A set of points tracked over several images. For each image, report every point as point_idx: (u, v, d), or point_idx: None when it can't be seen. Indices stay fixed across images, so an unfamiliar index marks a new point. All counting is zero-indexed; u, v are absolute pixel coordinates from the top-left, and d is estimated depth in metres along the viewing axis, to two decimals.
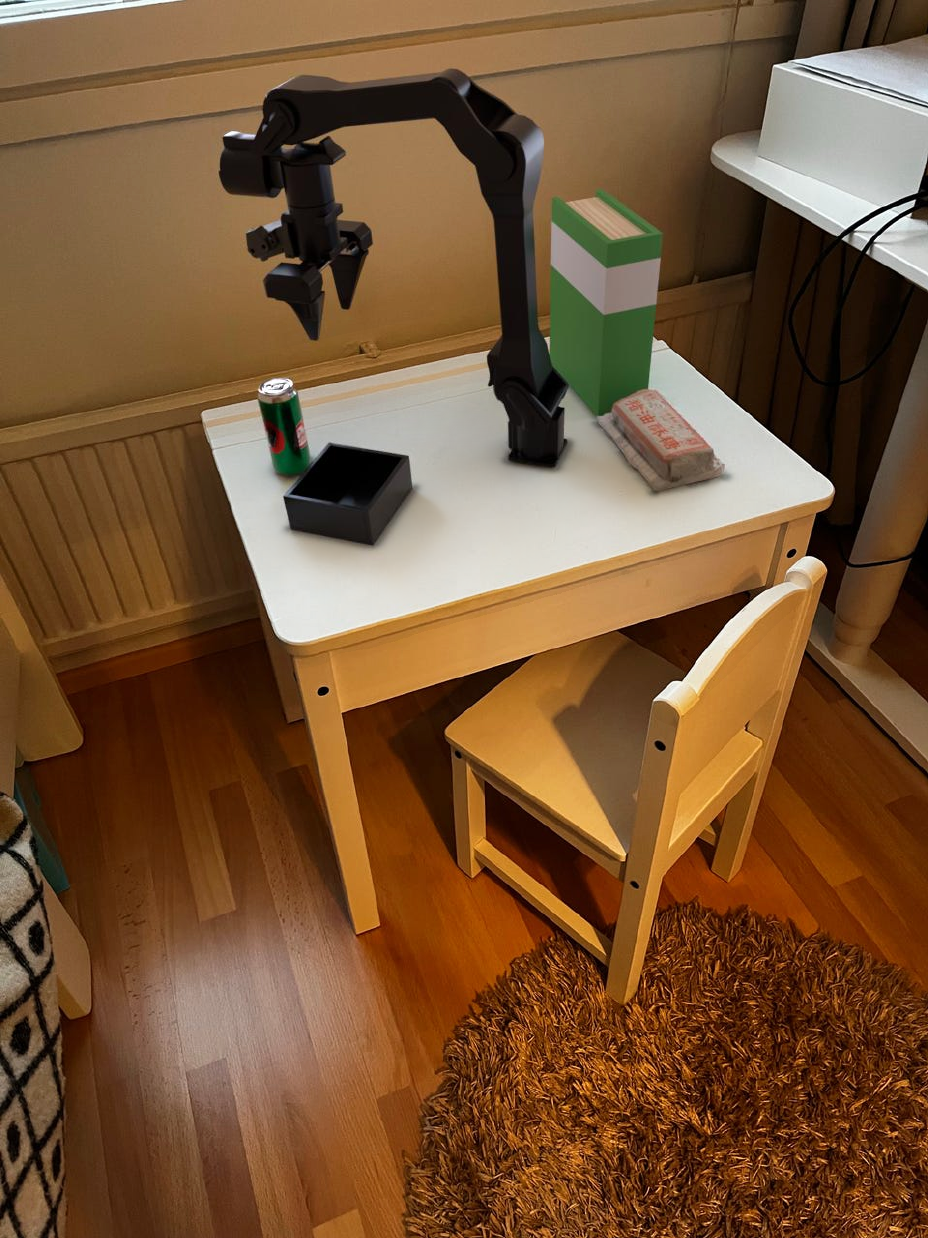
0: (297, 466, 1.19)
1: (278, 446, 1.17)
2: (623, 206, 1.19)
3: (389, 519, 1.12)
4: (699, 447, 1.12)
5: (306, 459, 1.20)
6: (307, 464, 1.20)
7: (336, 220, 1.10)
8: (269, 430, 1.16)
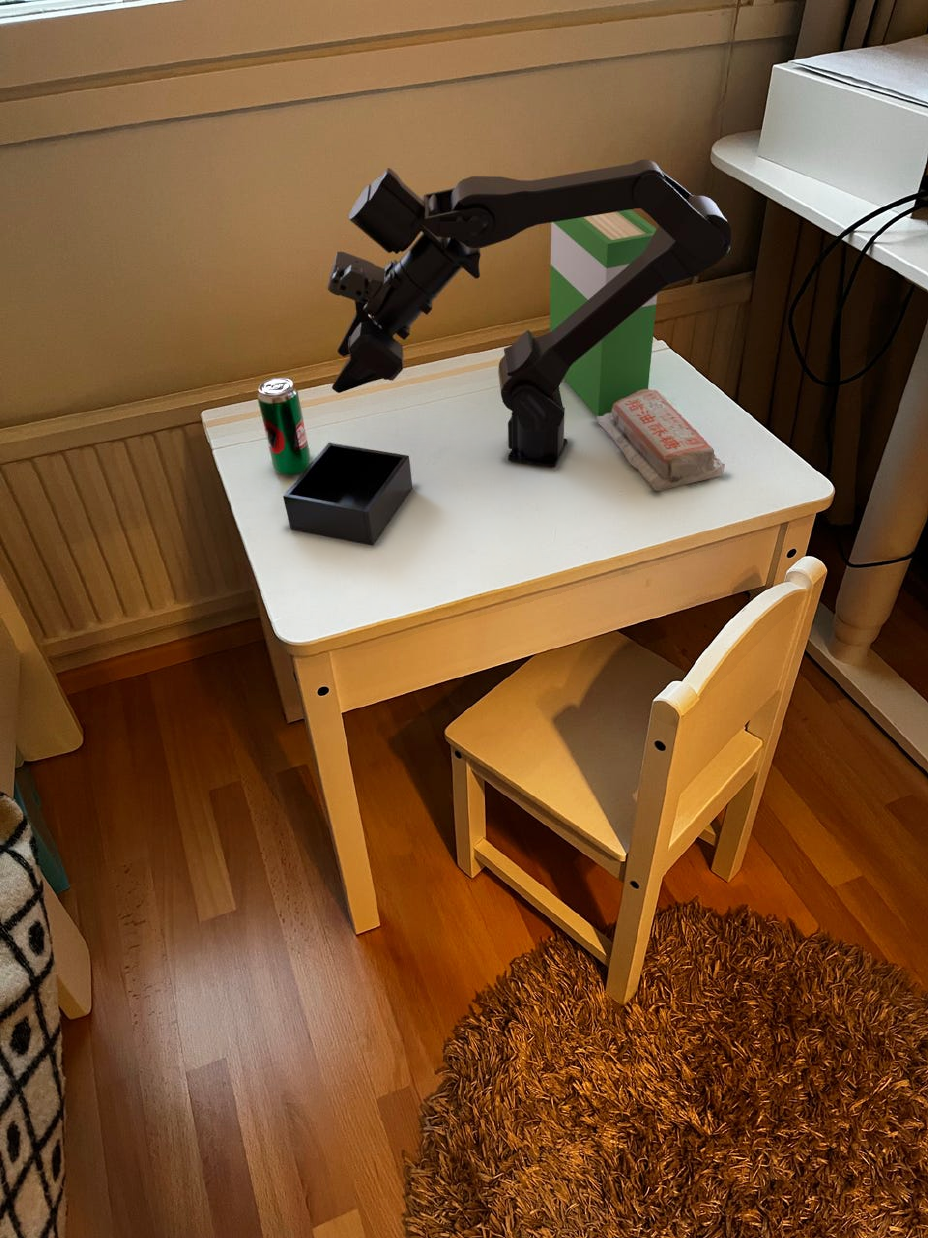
0: (297, 466, 1.19)
1: (278, 446, 1.17)
2: None
3: (389, 519, 1.12)
4: (700, 447, 1.12)
5: (306, 459, 1.20)
6: (307, 464, 1.20)
7: None
8: (269, 430, 1.16)
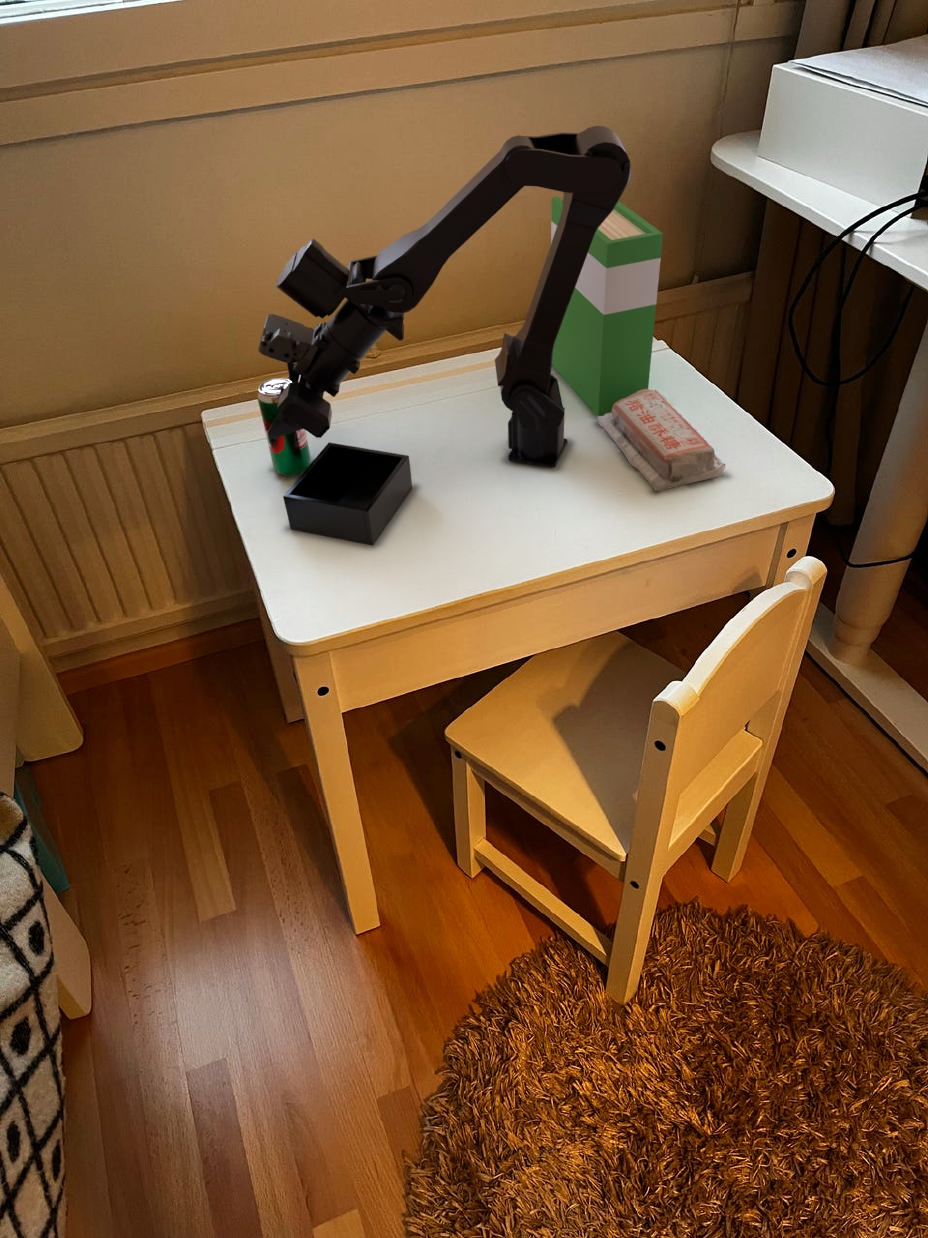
0: (297, 466, 1.19)
1: (278, 446, 1.17)
2: (623, 206, 1.19)
3: (389, 519, 1.12)
4: (700, 447, 1.12)
5: (306, 459, 1.20)
6: (307, 464, 1.20)
7: None
8: None
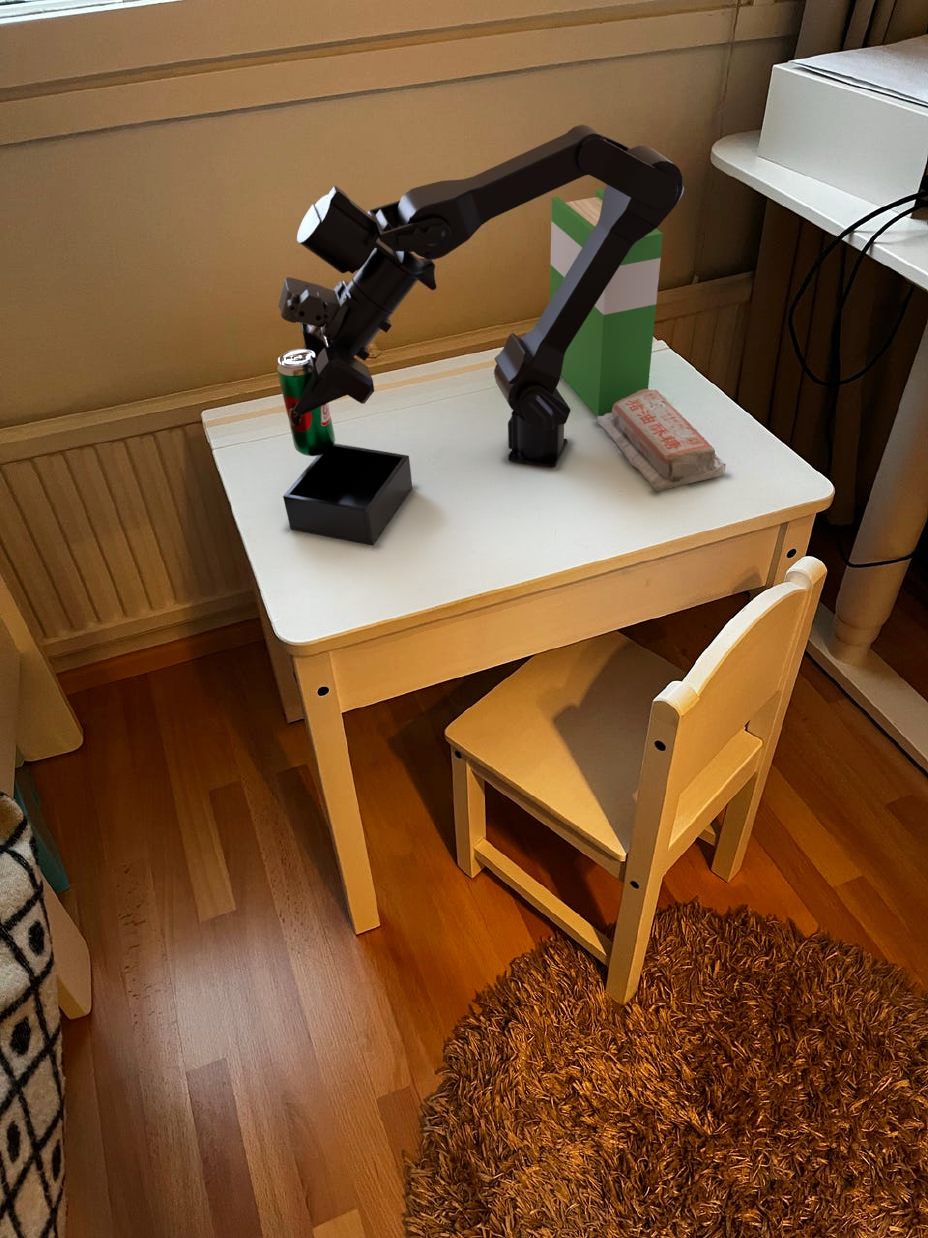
0: (324, 444, 1.10)
1: (305, 423, 1.07)
2: None
3: (389, 519, 1.12)
4: (700, 447, 1.12)
5: (332, 436, 1.11)
6: (333, 441, 1.11)
7: None
8: None
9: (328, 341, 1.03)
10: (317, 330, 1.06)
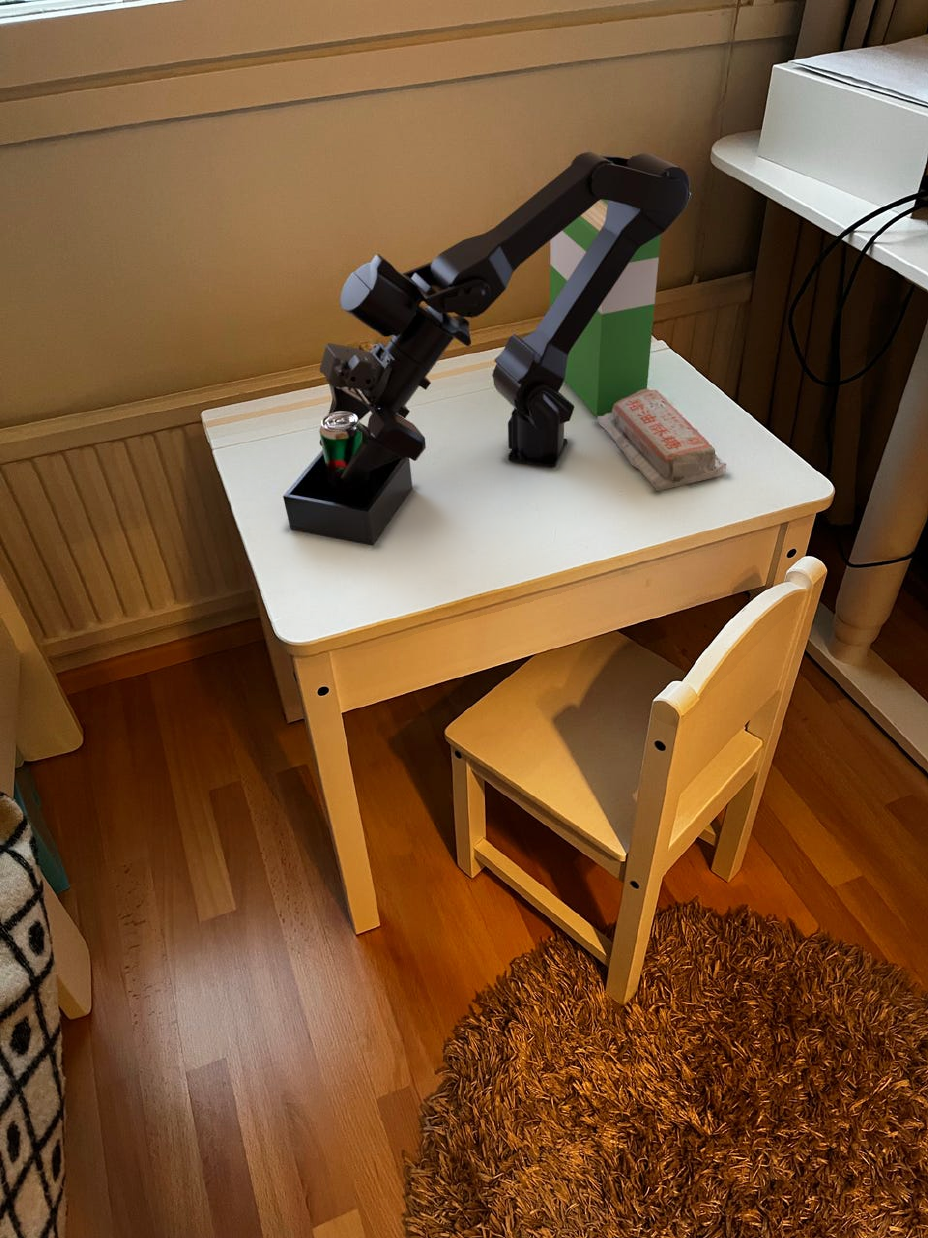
0: (366, 501, 1.12)
1: (349, 483, 1.09)
2: None
3: (389, 519, 1.12)
4: (701, 447, 1.12)
5: (371, 492, 1.13)
6: (372, 497, 1.13)
7: None
8: (339, 469, 1.08)
9: (365, 396, 1.06)
10: None
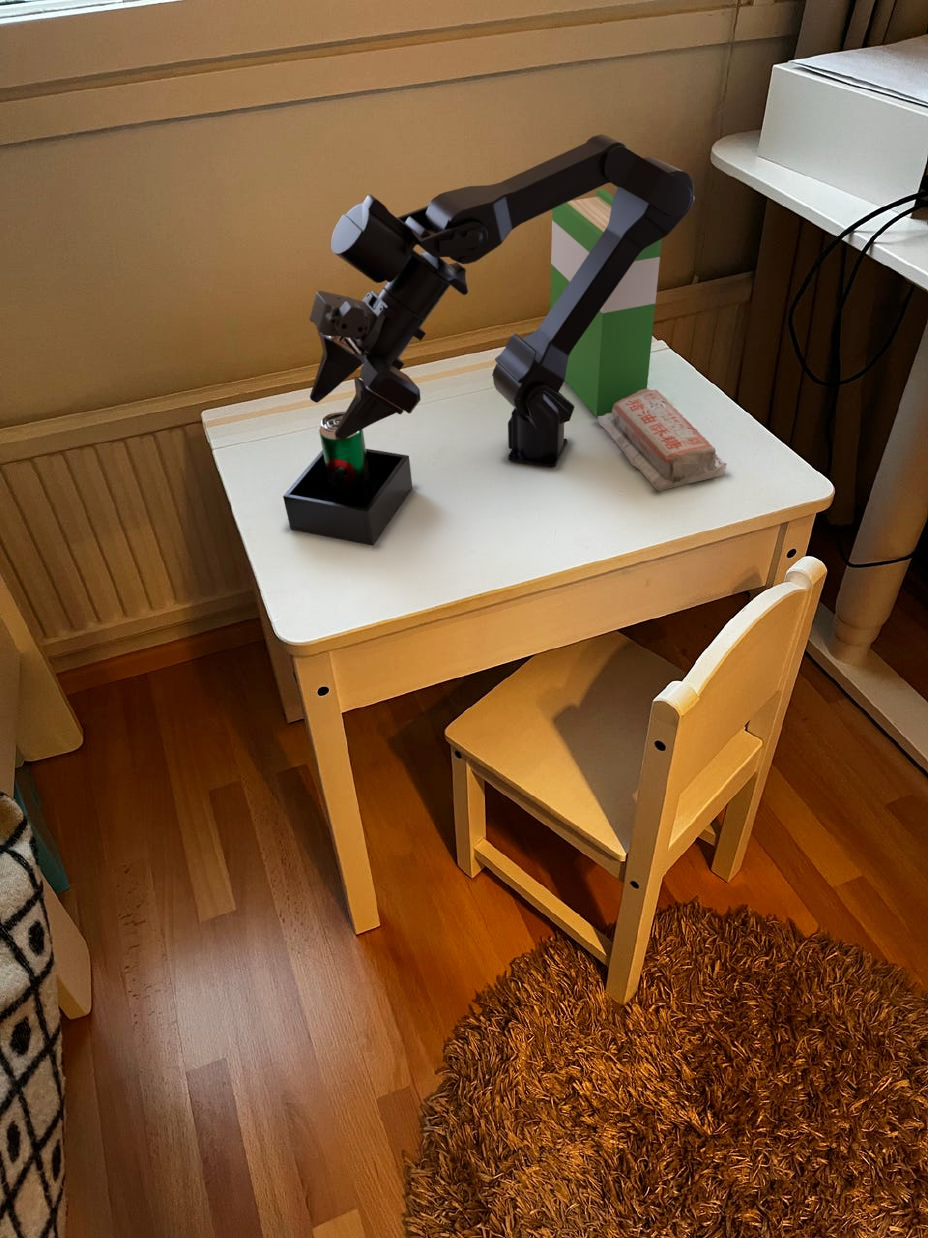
0: (366, 501, 1.12)
1: (349, 483, 1.09)
2: None
3: (389, 519, 1.12)
4: (701, 447, 1.12)
5: (371, 492, 1.13)
6: (372, 497, 1.13)
7: None
8: (339, 469, 1.08)
9: (356, 346, 1.02)
10: (337, 336, 1.05)
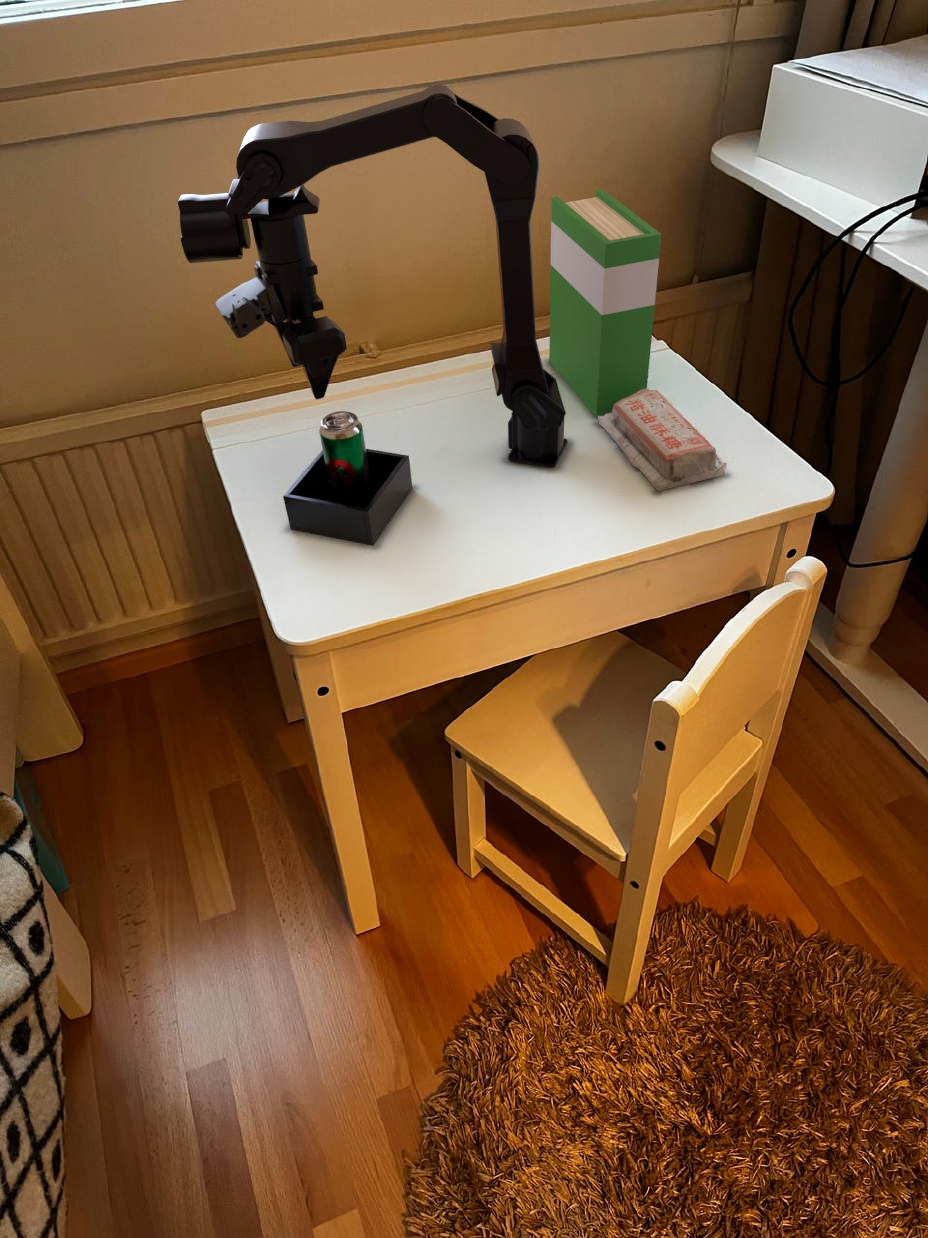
0: (366, 501, 1.12)
1: (349, 483, 1.09)
2: (622, 206, 1.19)
3: (389, 519, 1.12)
4: (702, 446, 1.12)
5: (371, 492, 1.13)
6: (372, 497, 1.13)
7: None
8: (339, 469, 1.08)
9: None
10: None
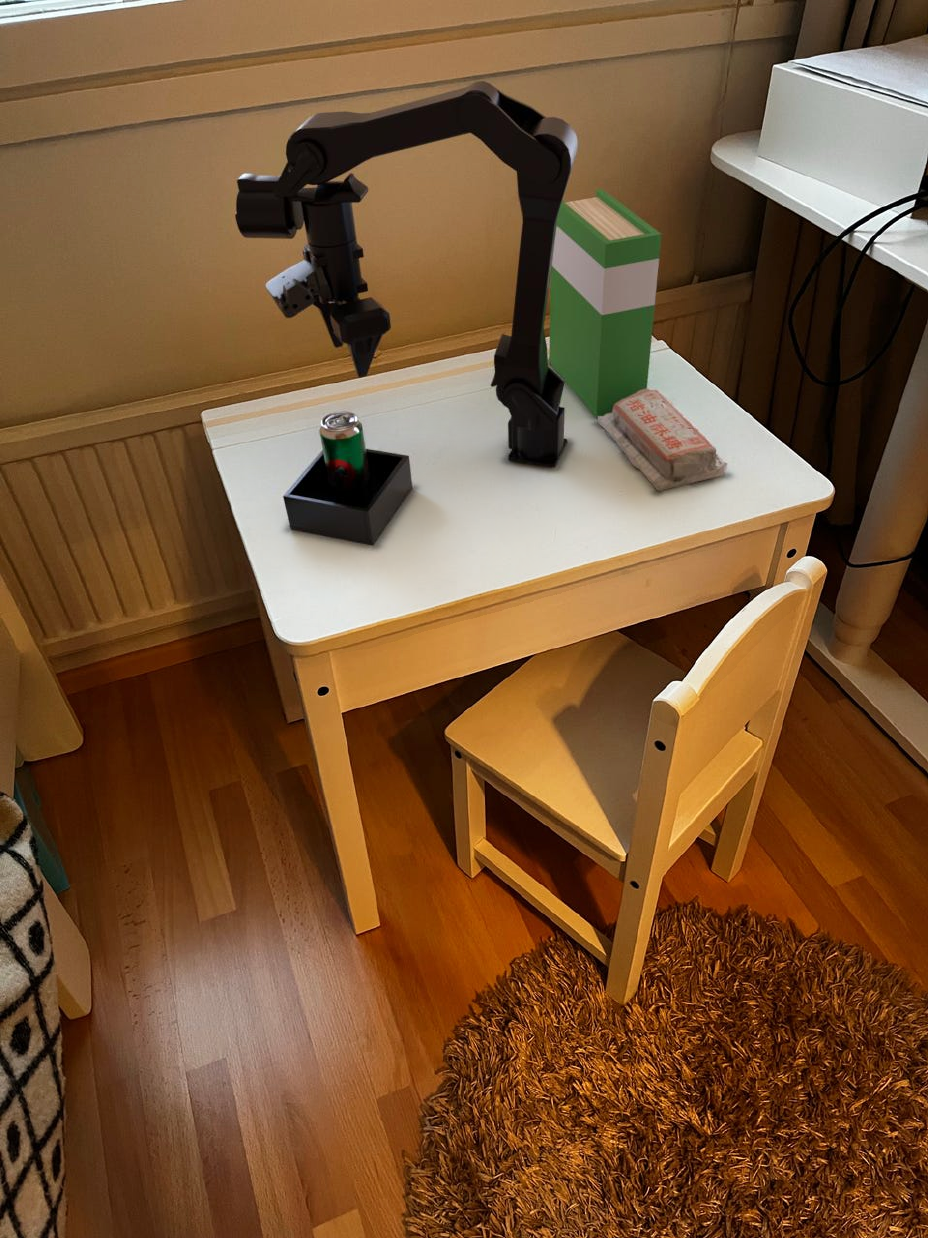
0: (366, 501, 1.12)
1: (349, 483, 1.09)
2: (622, 206, 1.19)
3: (389, 519, 1.12)
4: (702, 446, 1.12)
5: (371, 492, 1.13)
6: (372, 497, 1.13)
7: None
8: (339, 469, 1.08)
9: None
10: None
